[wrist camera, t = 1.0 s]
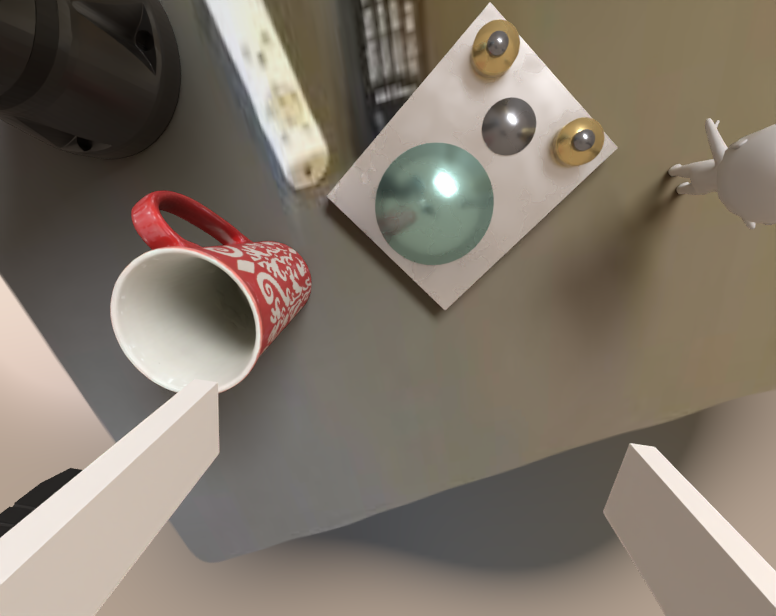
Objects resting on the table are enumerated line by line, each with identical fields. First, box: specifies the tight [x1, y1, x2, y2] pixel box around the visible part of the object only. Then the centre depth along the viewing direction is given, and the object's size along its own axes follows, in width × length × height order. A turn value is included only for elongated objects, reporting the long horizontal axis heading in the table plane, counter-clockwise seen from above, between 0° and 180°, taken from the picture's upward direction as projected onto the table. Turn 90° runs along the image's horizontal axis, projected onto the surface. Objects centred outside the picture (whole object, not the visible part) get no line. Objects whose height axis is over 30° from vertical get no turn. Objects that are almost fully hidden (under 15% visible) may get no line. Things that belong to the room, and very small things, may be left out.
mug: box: [110, 191, 311, 393], centre depth 26 cm, size 13×9×14 cm
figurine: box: [668, 119, 776, 229], centre depth 23 cm, size 8×5×12 cm
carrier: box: [327, 3, 618, 310], centre depth 28 cm, size 14×18×3 cm
